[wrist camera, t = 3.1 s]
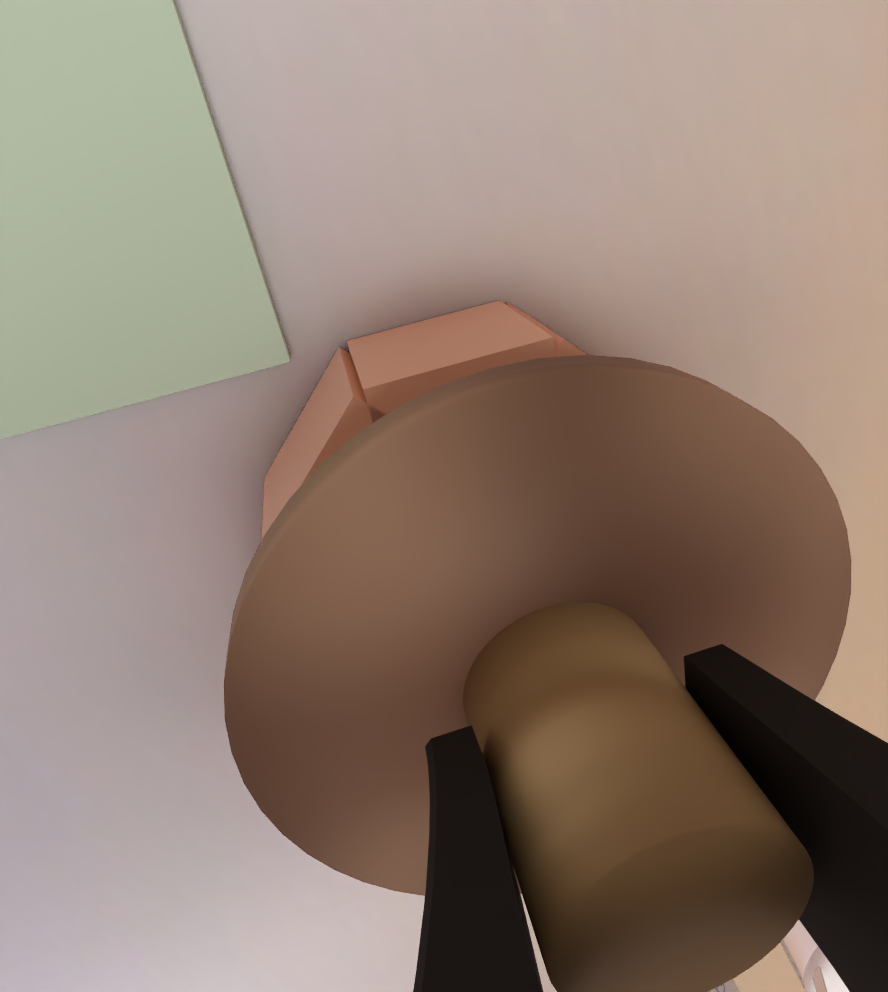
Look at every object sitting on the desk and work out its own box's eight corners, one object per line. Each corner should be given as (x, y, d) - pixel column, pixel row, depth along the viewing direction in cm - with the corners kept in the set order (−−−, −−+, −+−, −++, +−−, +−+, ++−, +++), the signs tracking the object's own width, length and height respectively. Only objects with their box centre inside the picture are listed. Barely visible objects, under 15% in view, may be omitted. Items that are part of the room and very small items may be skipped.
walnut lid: (334, 922, 14) (355, 1254, 10) (112, 471, 9) (-39, 750, 5) (806, 764, 15) (1012, 1007, 11) (836, 273, 10) (1243, 364, 6)
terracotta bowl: (338, 681, 19) (349, 782, 16) (221, 374, 15) (206, 431, 12) (642, 586, 20) (708, 665, 17) (614, 269, 16) (695, 297, 13)
